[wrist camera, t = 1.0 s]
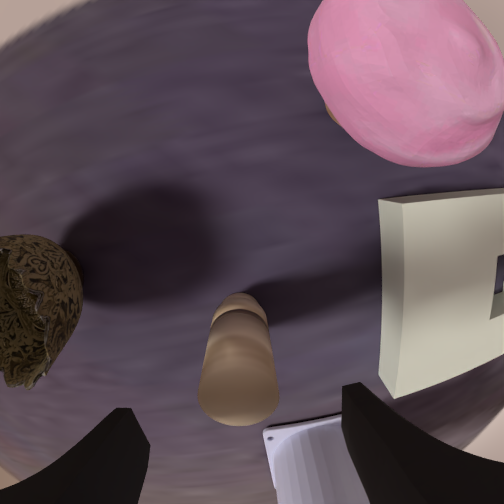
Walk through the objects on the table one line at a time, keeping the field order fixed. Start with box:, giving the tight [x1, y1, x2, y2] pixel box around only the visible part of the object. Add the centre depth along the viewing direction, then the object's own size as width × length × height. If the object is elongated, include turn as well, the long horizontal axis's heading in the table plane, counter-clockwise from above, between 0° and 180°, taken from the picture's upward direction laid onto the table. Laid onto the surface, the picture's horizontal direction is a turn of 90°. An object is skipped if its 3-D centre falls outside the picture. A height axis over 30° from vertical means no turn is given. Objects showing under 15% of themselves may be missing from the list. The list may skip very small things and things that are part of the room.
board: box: [378, 188, 504, 399], centre depth 17 cm, size 12×16×3 cm
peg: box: [198, 293, 279, 426], centre depth 14 cm, size 3×3×8 cm
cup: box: [0, 235, 84, 390], centre depth 13 cm, size 8×7×8 cm
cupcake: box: [308, 0, 504, 167], centre depth 10 cm, size 9×9×10 cm
